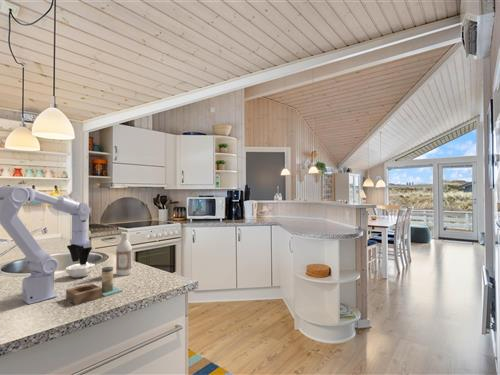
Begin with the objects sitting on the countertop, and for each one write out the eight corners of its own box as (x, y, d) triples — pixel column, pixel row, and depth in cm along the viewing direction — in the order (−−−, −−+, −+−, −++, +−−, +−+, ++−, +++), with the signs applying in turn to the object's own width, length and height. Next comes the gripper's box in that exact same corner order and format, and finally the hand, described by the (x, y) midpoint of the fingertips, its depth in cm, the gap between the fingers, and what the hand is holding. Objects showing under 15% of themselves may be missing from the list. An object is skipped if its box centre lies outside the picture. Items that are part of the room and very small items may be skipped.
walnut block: (76, 305, 102) (76, 295, 102) (66, 298, 108) (66, 289, 108) (101, 297, 109) (102, 288, 109) (91, 292, 115) (91, 283, 115)
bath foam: (114, 276, 135) (114, 234, 135) (117, 272, 142) (118, 231, 142) (130, 275, 137) (130, 233, 137) (132, 271, 144) (133, 231, 144)
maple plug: (104, 293, 112) (104, 270, 112) (99, 290, 115) (100, 268, 115) (114, 290, 116) (114, 267, 116) (109, 288, 118) (110, 266, 118)
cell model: (62, 277, 134) (62, 262, 134) (89, 271, 143) (89, 258, 143) (69, 281, 127) (69, 266, 127) (98, 275, 136) (98, 261, 136)
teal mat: (104, 296, 110) (104, 295, 110) (93, 291, 115) (93, 290, 115) (122, 291, 115) (122, 290, 115) (111, 286, 121) (111, 285, 121)
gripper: (97, 231, 120) (96, 263, 120) (82, 228, 129) (82, 258, 129) (78, 233, 115) (78, 267, 115) (64, 229, 124) (64, 261, 124)
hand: (79, 262), depth 122 cm, fingers open, 7 cm apart
